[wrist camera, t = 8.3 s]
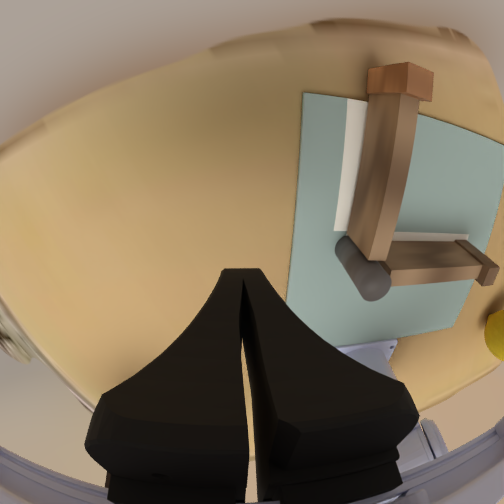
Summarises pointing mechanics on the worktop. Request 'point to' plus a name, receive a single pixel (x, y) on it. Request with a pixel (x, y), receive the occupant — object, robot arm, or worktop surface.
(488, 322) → the lemon
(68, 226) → the worktop surface
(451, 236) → the card
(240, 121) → the worktop surface
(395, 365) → the worktop surface
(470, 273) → the fixed fence section
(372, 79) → the hinged fence panel
